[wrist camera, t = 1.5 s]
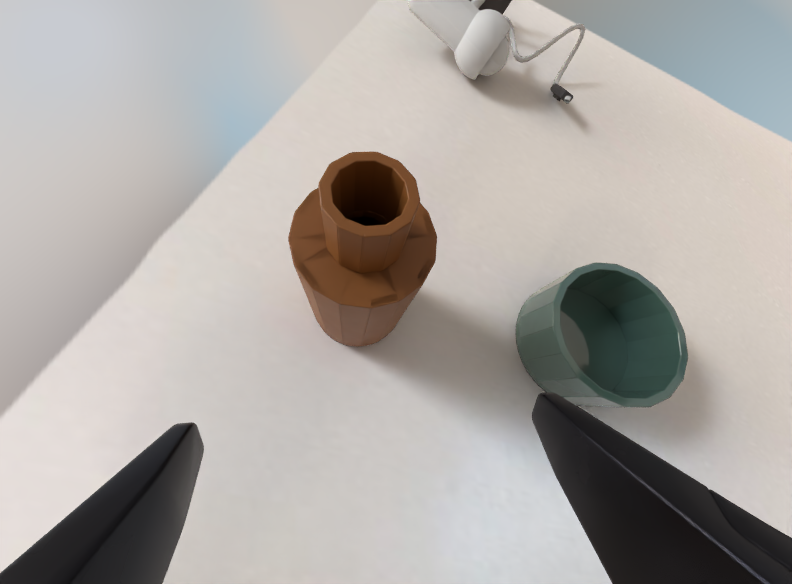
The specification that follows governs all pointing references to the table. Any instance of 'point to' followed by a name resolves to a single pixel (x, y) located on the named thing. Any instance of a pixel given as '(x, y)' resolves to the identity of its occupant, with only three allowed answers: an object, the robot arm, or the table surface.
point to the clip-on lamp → (482, 36)
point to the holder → (603, 338)
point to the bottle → (362, 246)
